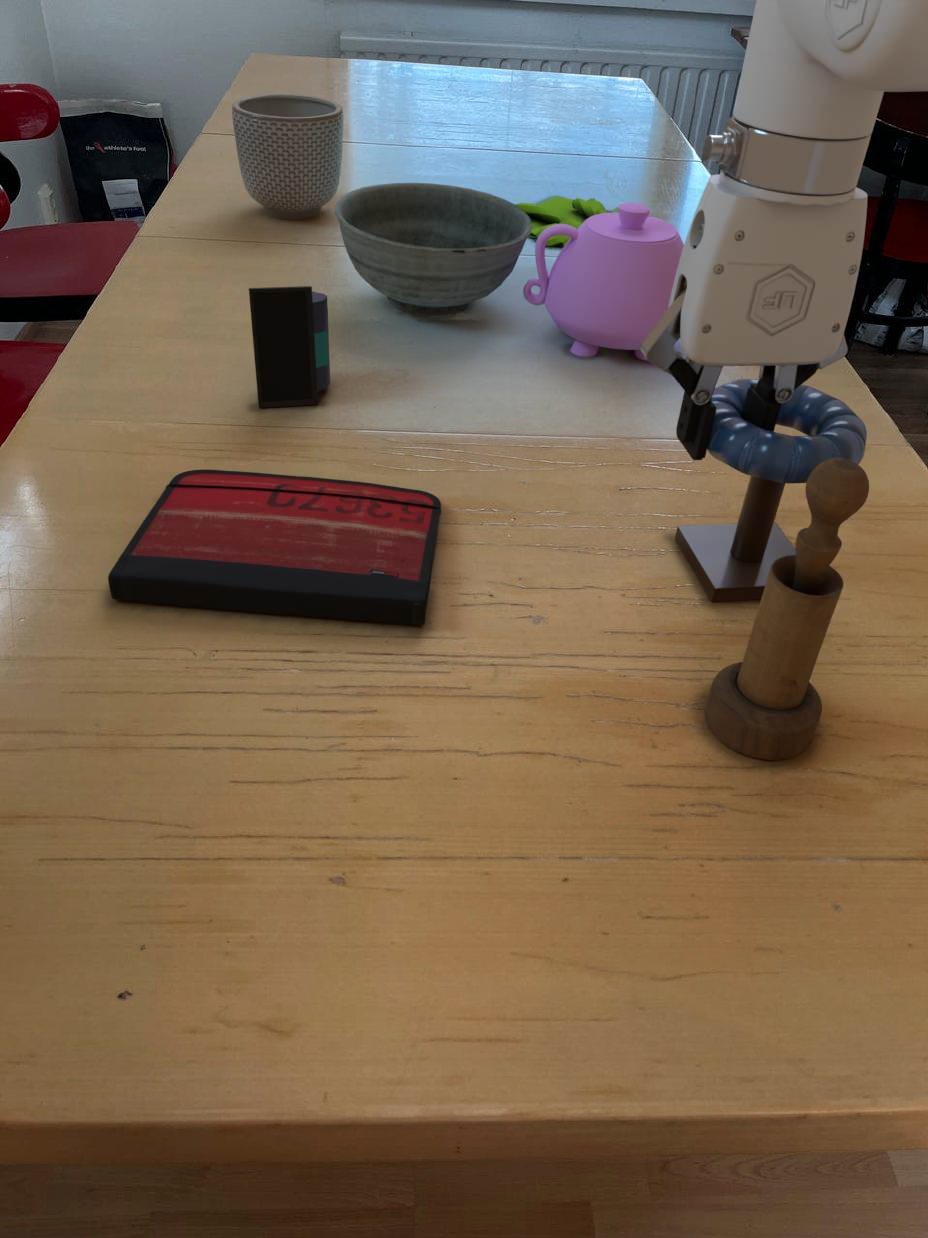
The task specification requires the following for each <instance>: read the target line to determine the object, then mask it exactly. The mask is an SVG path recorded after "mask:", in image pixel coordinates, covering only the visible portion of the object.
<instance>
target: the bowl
mask: <svg viewBox="0 0 928 1238" xmlns="http://www.w3.org/2000/svg"><path fill="white" fill-rule="evenodd" d="M515 204H516V203H513V202H511V201H509V200H507V199H505V198H502V197H499V196H497V195H494V194H491V193H488V192H485V191H481V190H476V189H472V188H467V187H462V186H456V185H451V184H450V185H449V184H441V183H432V182H391V183H380V184H374V185H368V186H363V187H360V188H357V189H354V190H351V191H349V192H347V193H346V194H344V195H342V196H341V197H340V198H339V199H338V200H337V201H336V203H335V204H334V210H333V211H334V212H333V213H334V215H335V217H336V219H337V221H338V224H339V230H340V233H341V238H342V241H343V244H344V248H345V250H346V253H347V255H348V257H349V259H350V262H351V263H352V265H353V268H354V270H356V273H358V275H359V276H360V277H361V279H363V280H364V281H365V282H366V283H367V284H368V285H369V286H370V287H372V288H373V289H374V290H375V291H377V292H378V293H381V294H382V295H384V296H386V299H387V301H388V302H389V303H390V304H391V305H393V307H395V308H396V309H399V310H401V311H402V312H403V311H404V312H406V313H410V314H413V315H417V316H423V317H437V318H438V317H448V316H453V315H457V314H460V313H463V312H464V311H466V310H467V309H469V306H471V305H470V304H471V303H473V302H476V301H479V300H482V299H484V298H486V297H488V296H490V295H491V294H492V293H493V292H494V291H496V290H497V289H498V288H499V287H501V285H503V283H504V282H505V281H506V279H507V278H508V277H509V276H510V275H511V274H512V272H513V271H514V269H515V266H516V265H517V263H518V260H519V257H520V255H521V253H522V251H523V249H524V246H525V244H526V241H527V240H528V238H529V237H528V236H529V235H530V233H531V230H532V224H531V219H530V217H529V216H528V215H527V214H526V213H525V212H524V211H523V210H522V209H521V208H519V207H518V206H517V205H515Z"/></svg>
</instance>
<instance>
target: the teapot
mask: <svg viewBox="0 0 928 1238" xmlns="http://www.w3.org/2000/svg"><path fill="white" fill-rule="evenodd" d="M617 207H618V212H619V213H602V214H597V215H593V216H591V217H589V218H588V219H586V220H585V221H584V222H583V223H582V225H581V226H580V227H579V228H578V229H576V228H574V227H572V226H570V225H567V224H556V225H553V226H550V227H548V228H546V229H545V230H544V231H542V233H541V234H540V235H539V237H538V238H536V242H535V247H534V257H535V266H536V271H537V276H538V278H535V277H533V278H530V279H528V280H527V281H526V282H525V284H524V286H523V290H522V294H523V298H524V299H525V301H526V302H528V303H529V304H531V305H534V306H542V305H544V306H545V309H546V311H547V312H548V314H549V316H550V317H551V319H552V321H553V322H554V324H556V326H557V328H559V330H560V331H562V332H563V333H564V334H565V335H567V336H569V337H570V338H572V339H575V341H574V343H573V344H572V346H571V348H570V349H569V350H570V352H571V353H572V354H574V355H575V356H578V357H584V358H590V357H594V356H596V355H597V354H598V351H599V348H600V347H602V348H607V349H615V350H627V351H630V350H634V355H635V357H636V358H638V359H640V360H642V361H646V362H649V361H648V360H647V359H646V357H645V356H644V354H643V353H642V352H641V349H640V347H641V344H642V342H643V341H644V340H645V338H646V337H647V336H648V335H649V333H650V332H651V331H652V329H653V328H654V327H655V325H656V324H657V323H658V322H659V320H660V319H661V318H662V316H663V315H664V314H665V312H666V311H667V310H668V306H669V301H670V296H671V292H672V288H673V284H674V279H675V275H676V271H677V268H678V264H679V260H680V257H681V253H682V250H683V247H684V242H683V239H682V237H681V235H680V233H679V231H678V230H677V228H676V227H675V226H674V225H672V224H671V223H669V222H667V221H665V220H663V219H661V218H659V217H658V218H657V217H655V216H650V212H651V208H650V207H649V206H647V205H645V204H643V203H640V202H639V203H638V202H623V203H620V204H618V206H617ZM557 235H564V236H568V237H571V238H570V239H569V241H568V242H567V243H566V245H565V246H564V247H562V249H561V250H560V251H559V253H558V254H557V257H556V258H555V261H554V263H553V264H552V267H551V268H550V271H549V275H548V270H547V269H548V268H547V264H546V263H547V262H546V246H545V245H546V242H547V240H548V239H549V238H551V237H553V236H557ZM534 286H536V287H539V293H537V294H535V293H534V292H533V291H532V288H533V287H534Z"/></svg>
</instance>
